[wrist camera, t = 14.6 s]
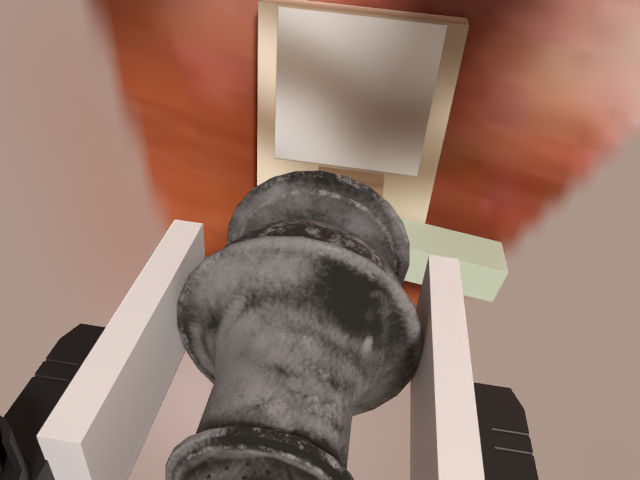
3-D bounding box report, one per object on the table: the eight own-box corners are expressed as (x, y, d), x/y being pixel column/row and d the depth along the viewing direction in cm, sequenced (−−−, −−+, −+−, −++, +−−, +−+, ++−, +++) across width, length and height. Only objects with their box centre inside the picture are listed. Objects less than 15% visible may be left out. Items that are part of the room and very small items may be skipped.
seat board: (264, -5, 25) (240, 19, 21) (467, 18, 24) (476, 45, 21) (261, 218, 32) (243, 263, 28) (418, 240, 31) (418, 288, 28)
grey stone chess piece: (224, 314, 18) (0, 867, 8) (211, 149, 14) (-204, 767, 5) (405, 337, 17) (399, 955, 8) (437, 172, 14) (500, 914, 4)
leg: (263, 222, 30) (249, 256, 27) (270, 178, 28) (257, 210, 26) (484, 276, 30) (490, 315, 27) (504, 236, 28) (513, 274, 26)
